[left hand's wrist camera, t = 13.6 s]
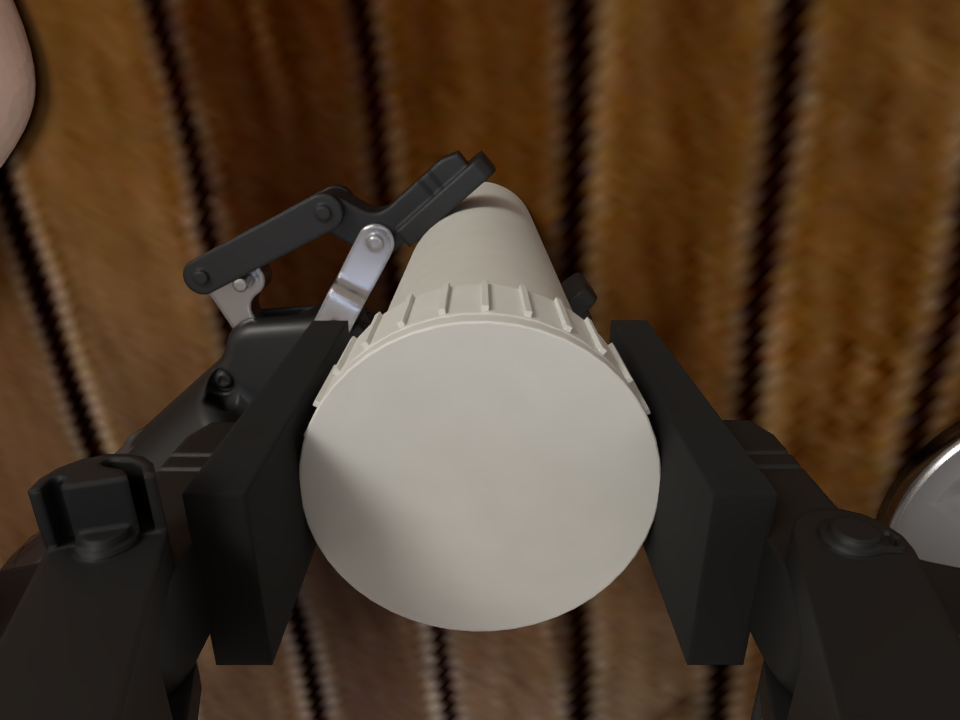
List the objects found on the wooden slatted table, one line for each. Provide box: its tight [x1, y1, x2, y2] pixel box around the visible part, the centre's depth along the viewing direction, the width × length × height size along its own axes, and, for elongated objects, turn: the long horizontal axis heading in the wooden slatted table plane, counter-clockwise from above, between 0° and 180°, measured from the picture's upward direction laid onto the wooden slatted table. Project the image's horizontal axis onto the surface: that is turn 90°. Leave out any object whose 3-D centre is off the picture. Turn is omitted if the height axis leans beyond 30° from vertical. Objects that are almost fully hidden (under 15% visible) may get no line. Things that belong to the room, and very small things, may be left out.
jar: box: [388, 182, 573, 312], centre depth 20 cm, size 5×5×20 cm
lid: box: [299, 280, 661, 631], centre depth 11 cm, size 6×6×2 cm
